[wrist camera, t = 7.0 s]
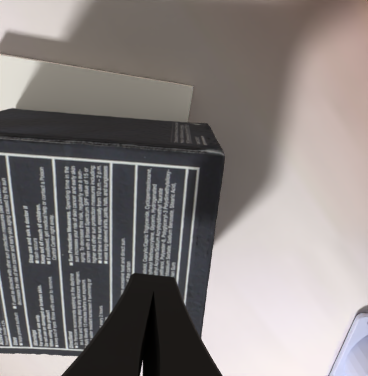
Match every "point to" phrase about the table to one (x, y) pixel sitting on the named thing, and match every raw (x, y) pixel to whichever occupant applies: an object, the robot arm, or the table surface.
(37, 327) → the small box
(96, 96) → the mat
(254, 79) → the table surface
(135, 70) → the table surface
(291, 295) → the table surface
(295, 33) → the table surface
